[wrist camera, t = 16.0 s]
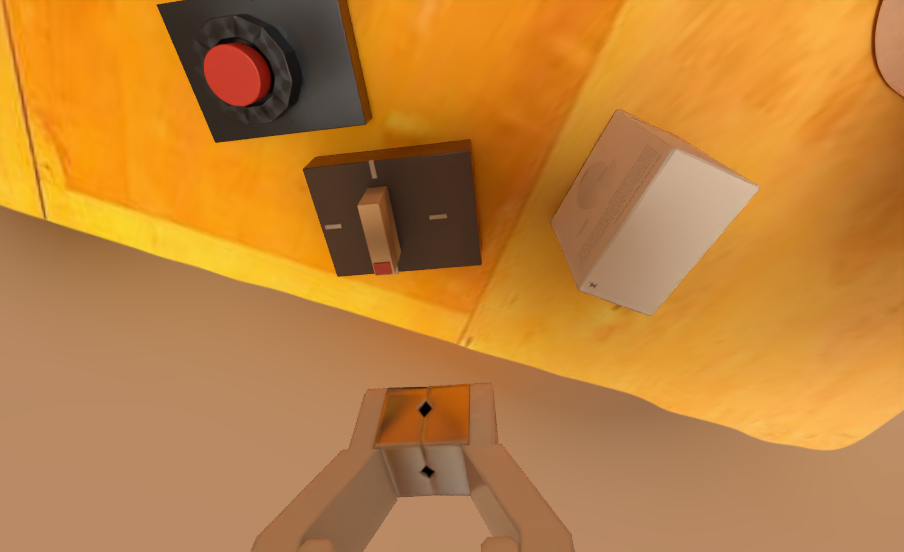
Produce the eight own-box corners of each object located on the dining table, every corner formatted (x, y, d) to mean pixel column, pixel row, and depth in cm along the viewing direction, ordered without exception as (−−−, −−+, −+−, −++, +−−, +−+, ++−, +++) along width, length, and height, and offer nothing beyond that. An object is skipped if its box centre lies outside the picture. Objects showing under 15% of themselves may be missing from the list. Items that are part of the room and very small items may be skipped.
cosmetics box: (611, 247, 38) (653, 321, 29) (548, 222, 37) (572, 290, 28) (688, 139, 32) (767, 189, 24) (617, 106, 31) (672, 146, 23)
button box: (341, -22, 28) (323, -26, 24) (372, 117, 33) (360, 130, 29) (176, 4, 29) (137, 4, 26) (229, 135, 34) (202, 149, 31)
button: (260, 38, 27) (247, 40, 25) (279, 98, 29) (268, 103, 27) (208, 46, 27) (192, 48, 26) (230, 104, 29) (217, 109, 28)
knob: (367, 187, 33) (355, 206, 29) (387, 185, 32) (378, 204, 29) (383, 253, 36) (374, 277, 33) (401, 252, 36) (394, 276, 33)
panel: (470, 138, 33) (470, 149, 31) (481, 249, 39) (481, 267, 36) (314, 155, 35) (300, 168, 32) (346, 260, 40) (337, 279, 37)
